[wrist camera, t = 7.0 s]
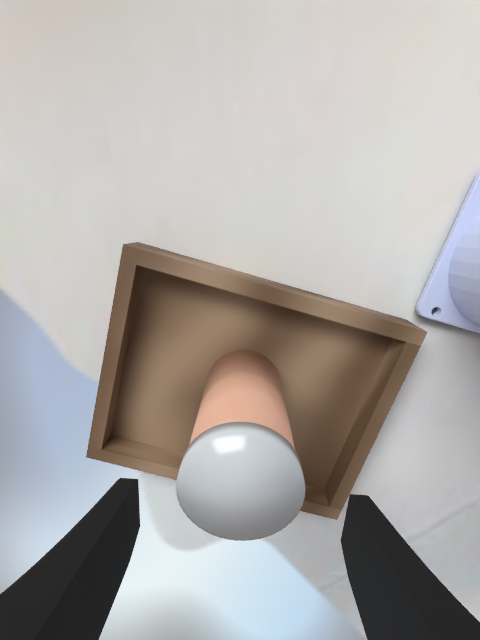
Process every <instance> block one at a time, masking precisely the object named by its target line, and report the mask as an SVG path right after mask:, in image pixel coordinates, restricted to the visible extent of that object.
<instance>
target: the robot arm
mask: <svg viewBox="0 0 480 640" xmlns="http://www.w3.org/2000/svg"><path fill="white" fill-rule="evenodd" d="M435 307H437V311H436V312H435V313H434V314H432V313H431V311H432V309H433V308H435ZM416 312H417V314H419V315H420V316H422V317H425V318H428V319H432V320H435V321H439V322H442V323H446V324H449V325H452V326H456V327H459V328H463V329H466V330H470V331H473V332H477V333H480V171H479V172H478V173H477V175H476V176H475V179H474V181H473V183H472V185H471V187H470V189H469V192H468V194H467V196H466V198H465V200H464V202H463V205H462V207H461V209H460V211H459V213H458V216H457V218H456V220H455V222H454V224H453V226H452V229H451V231H450V233H449V235H448V237H447V239H446V242H445V244H444V246H443V248H442V250H441V253H440V255H439V257H438V259H437V261H436V263H435V266H434V268H433V270H432V272H431V274H430V276H429V279H428V281H427V283H426V285H425V287H424V289H423V292H422V294H421V296H420V298H419V300H418V303H417V305H416ZM139 516H140V515H139V490H138V479H127V478H120V479H119V480H118V481H116V482H115V484H114V485H113V486H112V487H111V488H110V489H109V490H108V491H107V492H106V494H105V495H104V496H103V497H102V498H101V499H100V500H99V501H98V502H97V504H95V505H94V507H93V508H92V509H91V510H90V511H89V512H88V513H87V514H86V515H85V516H84V517H83V518H82V519H81V520H80V521H79V522H78V523H77V524H76V525H75V526H74V527H73V528H72V529H71V530H70V532H68V533H67V534H66V535H65V536H64V538H62V539H61V540H60V541H59V542H58V543H57V544H56V545H55V546H54V547H53V548H52V549H51V550H50V551H49V552H48V553H46V554H45V555H44V557H42V558H41V559H40V560H39V561H38V562H37V563H36V564H35V565H34V566H33V567H31V568H30V569H29V570H28V571H27V572H26V573H25V574H24V575H22V576H21V577H20V578H19V579H18V580H17V581H16V582H14V583H13V584H12V585H11V586H10V587H9V588H7V589H6V590H5V591H4V592H2V593H1V594H0V640H99V637H100V635H101V632H102V629H103V627H104V624H105V622H106V619H107V617H108V615H109V612H110V610H111V607H112V604H113V602H114V599H115V597H116V595H117V592H118V589H119V587H120V585H121V582H122V579H123V577H124V574H125V572H126V569H127V567H128V564H129V562H130V558H131V555H132V552H133V548H134V545H135V542H136V538H137V535H138V531H139V527H140V517H139ZM341 544H342V549H343V554H344V559H345V564H346V569H347V573H348V578H349V581H350V584H351V588H352V591H353V594H354V597H355V601H356V604H357V607H358V610H359V614H360V617H361V620H362V623H363V626H364V630H365V633H366V636H367V639H368V640H480V622H479V621H478V620H477V619H476V618H475V617H474V616H473V615H472V614H471V613H470V612H469V611H468V610H467V609H466V608H465V607H464V606H463V605H462V604H461V603H460V602H459V601H458V600H457V599H456V598H455V597H454V596H453V595H452V594H451V592H450V591H449V590H448V589H447V588H446V587H445V586H444V585H443V584H442V583H441V582H440V581H439V580H438V578H437V577H436V576H435V575H434V574H433V573H432V572H431V571H430V569H429V568H428V567H427V566H426V565H425V564H424V563H423V561H422V560H421V559H420V558H419V557H418V556H417V554H416V553H415V552H414V551H413V550H412V549H411V547H410V546H409V545H408V544H407V543H406V542H405V540H404V539H403V538H402V537H401V535H400V534H399V533H398V532H397V531H396V529H395V528H394V527H393V526H392V524H391V523H390V522H389V521H388V519H387V518H386V517H385V516H384V515H383V513H382V512H381V511H380V510H379V508H378V507H377V506H376V505H375V503H374V502H373V501H372V500H371V498H370V497H369V496H367V495H353V494H350V497H349V502H348V507H347V512H346V517H345V522H344V527H343V532H342V537H341Z"/></svg>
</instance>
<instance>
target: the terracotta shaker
mask: <svg viewBox="0 0 480 640" xmlns="http://www.w3.org/2000/svg"><path fill="white" fill-rule="evenodd" d="M176 493H177V497H178V501H179V503H180V506H181V508H182V509H183V511H184V513H185V514H186V515H187V517H188V518H189V519H190V520H191V521H192V522H193V523H194V524H196V525H197V526H198V527H199V528H201V529H203V530H204V531H206V532H208V533H210V534H212V535H215V536H218V537H221V538H225V539H230V540H243V541H244V540H255V539H260V538H264V537H267V536H270V535H272V534H275V533H276V532H278V531H280V530H282V529H283V528H285V527H286V526H287V525H288V524H289V523H291V522H292V521H293V519H294V518H295V517H296V516H297V514H298V513H299V511H300V509H301V507H302V505H303V502H304V498H305V481H304V477H303V472H302V467H301V463H300V459H299V457H298V455H297V452H296V451H295V447H294V442H293V437H292V433H291V428H290V423H289V418H288V413H287V409H286V404H285V399H284V394H283V389H282V385H281V380H280V375H279V373H278V370H277V368H276V367H275V365H274V364H273V363H272V362H271V361H270V360H269V359H268V358H267V357H265V356H264V355H262V354H260V353H257V352H254V351H248V350H239V351H234V352H230V353H228V354H226V355H224V356H222V357H221V358H219V359H218V360H217V361H216V362H215V364H214V365H213V366H212V368H211V370H210V372H209V375H208V379H207V382H206V386H205V390H204V393H203V397H202V400H201V404H200V408H199V411H198V415H197V418H196V422H195V426H194V429H193V433H192V436H191V440H190V444H189V446H188V448H187V449H186V451H185V453H184V456H183V459H182V462H181V466H180V469H179V473H178V476H177V482H176Z"/></svg>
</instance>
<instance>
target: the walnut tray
mask: <svg viewBox="0 0 480 640" xmlns="http://www.w3.org/2000/svg"><path fill="white" fill-rule="evenodd" d="M426 334H427V332H426V331H425V330H423V329H421V328H419V327H418V326H416V325H414V324H413V323H411V322H409V321H407V320H405V319H401V318H398V317H394V316H391V315H387V314H384V313H380V312H377V311H374V310H370V309H367V308H363V307H360V306H356V305H353V304H349V303H346V302H343V301H339V300H336V299H332V298H329V297H325V296H322V295H318V294H315V293H311V292H308V291H305V290H301V289H298V288H294V287H291V286H287V285H284V284H280V283H277V282H273V281H270V280H267V279H263V278H260V277H256V276H253V275H249V274H246V273H242V272H239V271H235V270H232V269H229V268H225V267H222V266H218V265H215V264H211V263H208V262H204V261H201V260H198V259H194V258H191V257H187V256H184V255H180V254H177V253H173V252H170V251H166V250H163V249H160V248H156V247H153V246H149V245H146V244H142V243H139V242H137V243H129V244H123V248H122V254H121V260H120V266H119V271H118V277H117V283H116V289H115V295H114V300H113V306H112V312H111V318H110V323H109V329H108V335H107V341H106V346H105V352H104V358H103V364H102V369H101V375H100V381H99V387H98V392H97V398H96V404H95V410H94V415H93V421H92V427H91V433H90V439H89V444H88V450H87V456H86V457H88V458H92V459H96V460H100V461H104V462H108V463H112V464H116V465H120V466H124V467H128V468H132V469H136V470H140V471H144V472H148V473H152V474H156V475H160V476H164V477H168V478H172V479H176V480H177V476H178V473H179V469H180V466H181V462H182V459H183V456H184V453H185V451H186V449H187V448H188V446H189V444H190V440H191V436H192V433H193V429H194V426H195V422H196V418H197V415H198V411H199V408H200V404H201V400H202V397H203V393H204V390H205V386H206V382H207V379H208V375H209V372H210V370H211V368H212V366H213V365H214V364H215V362H216V361H217V360H218V359H219V358H221V357H222V356H224V355H226V354H228V353H230V352H234V351H239V350H248V351H254V352H257V353H260V354H262V355H264V356H265V357H267V358H268V359H269V360H270V361H271V362H272V363H273V364H274V365H275V367H276V368H277V370H278V373H279V375H280V380H281V385H282V389H283V394H284V399H285V404H286V409H287V413H288V418H289V423H290V428H291V433H292V437H293V442H294V447H295V451H296V452H297V455H298V457H299V459H300V463H301V467H302V472H303V477H304V481H305V498H304V502H303V505H302V507H301V509H300V511H304V512H308V513H312V514H316V515H320V516H324V517H328V518H332V519H336V520H337V518H338V516H339V514H340V512H341V510H342V508H343V506H344V504H345V502H346V500H347V498H348V496H349V494H350V491H351V489H352V487H353V485H354V483H355V481H356V479H357V477H358V475H359V473H360V471H361V469H362V467H363V465H364V462H365V460H366V458H367V456H368V454H369V452H370V450H371V448H372V446H373V444H374V442H375V440H376V438H377V436H378V433H379V431H380V429H381V427H382V425H383V423H384V421H385V419H386V417H387V415H388V413H389V411H390V409H391V406H392V404H393V402H394V400H395V398H396V396H397V394H398V392H399V390H400V388H401V386H402V384H403V382H404V380H405V377H406V375H407V373H408V371H409V369H410V367H411V365H412V363H413V361H414V359H415V357H416V355H417V353H418V351H419V348H420V346H421V344H422V342H423V340H424V338H425V336H426Z"/></svg>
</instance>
